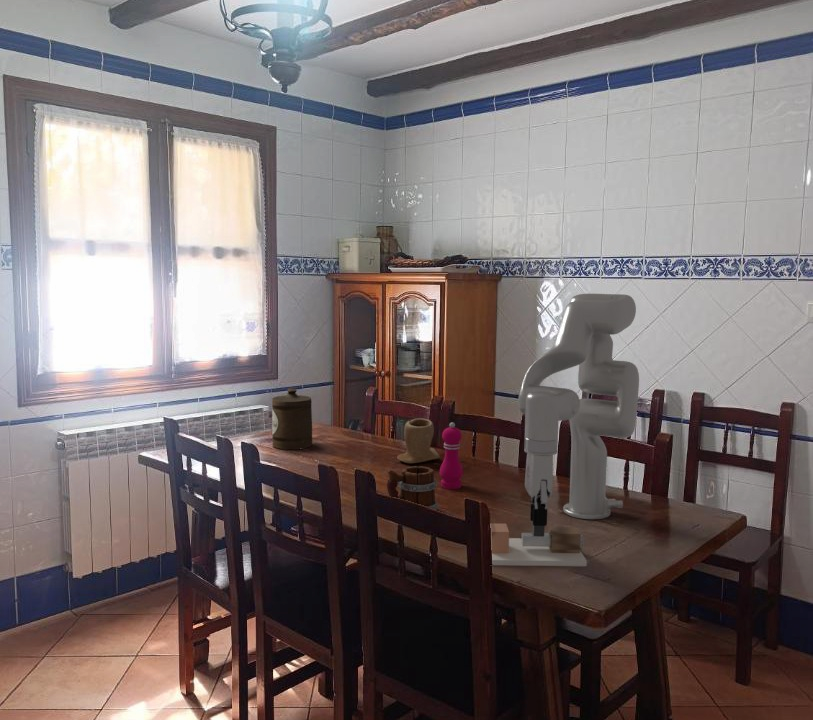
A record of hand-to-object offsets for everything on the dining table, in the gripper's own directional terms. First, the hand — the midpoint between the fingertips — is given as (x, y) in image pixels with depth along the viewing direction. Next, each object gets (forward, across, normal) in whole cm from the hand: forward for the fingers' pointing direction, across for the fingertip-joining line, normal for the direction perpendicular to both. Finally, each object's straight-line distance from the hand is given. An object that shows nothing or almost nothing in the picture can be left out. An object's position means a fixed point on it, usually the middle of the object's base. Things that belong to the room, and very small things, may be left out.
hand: (538, 522), depth 173 cm
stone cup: (+8, -85, -26) cm, 89 cm away
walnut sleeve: (+6, 0, +6) cm, 9 cm away
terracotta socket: (+6, 0, -9) cm, 11 cm away
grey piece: (+5, 0, +3) cm, 6 cm away
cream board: (+8, 0, -1) cm, 8 cm away
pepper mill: (+8, -55, -17) cm, 58 cm away
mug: (+8, -29, -29) cm, 42 cm away
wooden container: (+8, -107, -74) cm, 130 cm away
